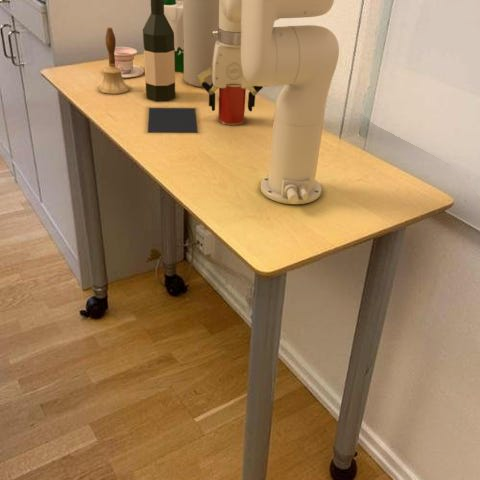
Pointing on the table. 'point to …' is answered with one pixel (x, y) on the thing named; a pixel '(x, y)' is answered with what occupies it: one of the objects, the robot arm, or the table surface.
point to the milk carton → (176, 30)
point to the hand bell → (112, 70)
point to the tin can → (231, 104)
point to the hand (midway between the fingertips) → (231, 109)
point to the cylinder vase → (199, 38)
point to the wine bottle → (159, 55)
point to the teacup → (126, 62)
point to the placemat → (172, 120)
